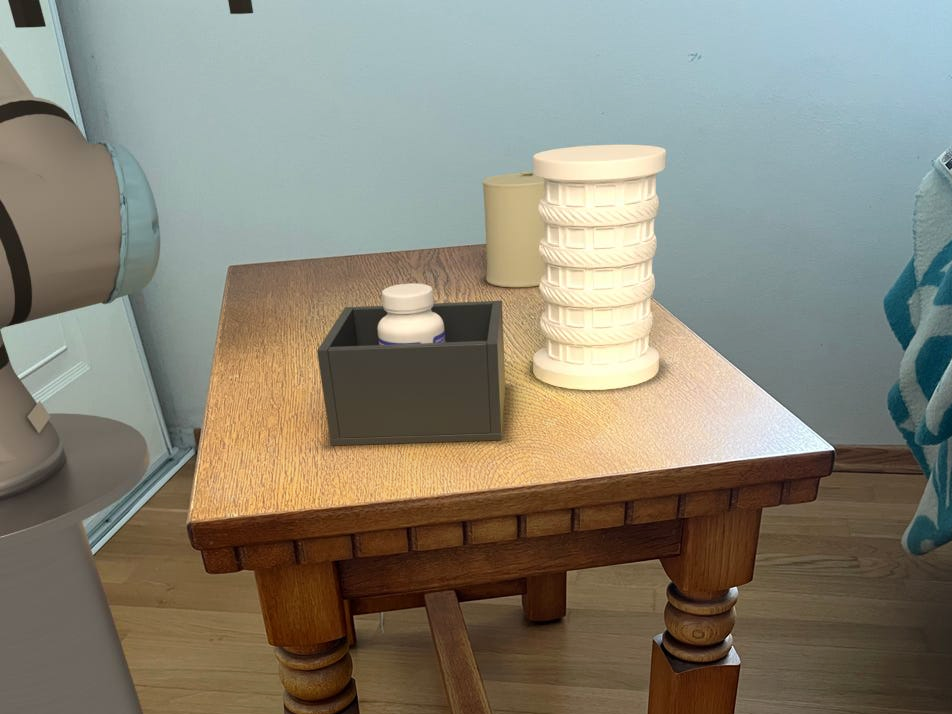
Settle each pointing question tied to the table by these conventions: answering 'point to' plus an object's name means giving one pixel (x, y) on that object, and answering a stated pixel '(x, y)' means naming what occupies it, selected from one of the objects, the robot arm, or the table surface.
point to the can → (514, 229)
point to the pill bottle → (409, 316)
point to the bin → (415, 379)
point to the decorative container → (598, 265)
